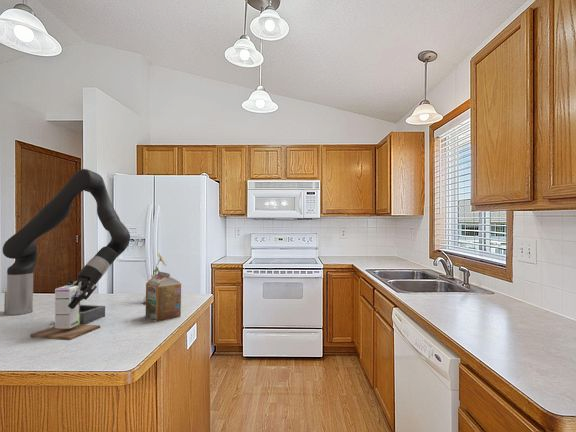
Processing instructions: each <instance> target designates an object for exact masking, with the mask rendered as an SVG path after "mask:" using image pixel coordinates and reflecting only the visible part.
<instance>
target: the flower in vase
mask: <svg viewBox="0 0 576 432" xmlns="http://www.w3.org/2000/svg"><path fill="white" fill-rule="evenodd" d="M157 256H158V257H159V260H158V261H157V263H156V266H155V269H153V273H155V274H150V275H149V276H150V277H151V279H152V278H153V277H154V276H156V275H157V274H158V271H160V269H159V267H158V265H159V263H160V262H161V263H162V264H163V265H164V267H166V266H167V264H166V262H165V260H164V258H163V256H162V255H161V253H160V252H157ZM142 300H143V302H144V303H146V295H145V296H144V297H143V299H142Z"/></svg>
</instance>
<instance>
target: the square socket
mask: <svg viewBox="0 0 576 432" xmlns="http://www.w3.org/2000/svg"><path fill="white" fill-rule="evenodd" d="M105 317H106V305H96V304H95V305H94V304H80V324H85V325H88V324H89V323H92V322H95V321H97V320H100V319H102V318H105ZM94 320H95V321H94Z"/></svg>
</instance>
